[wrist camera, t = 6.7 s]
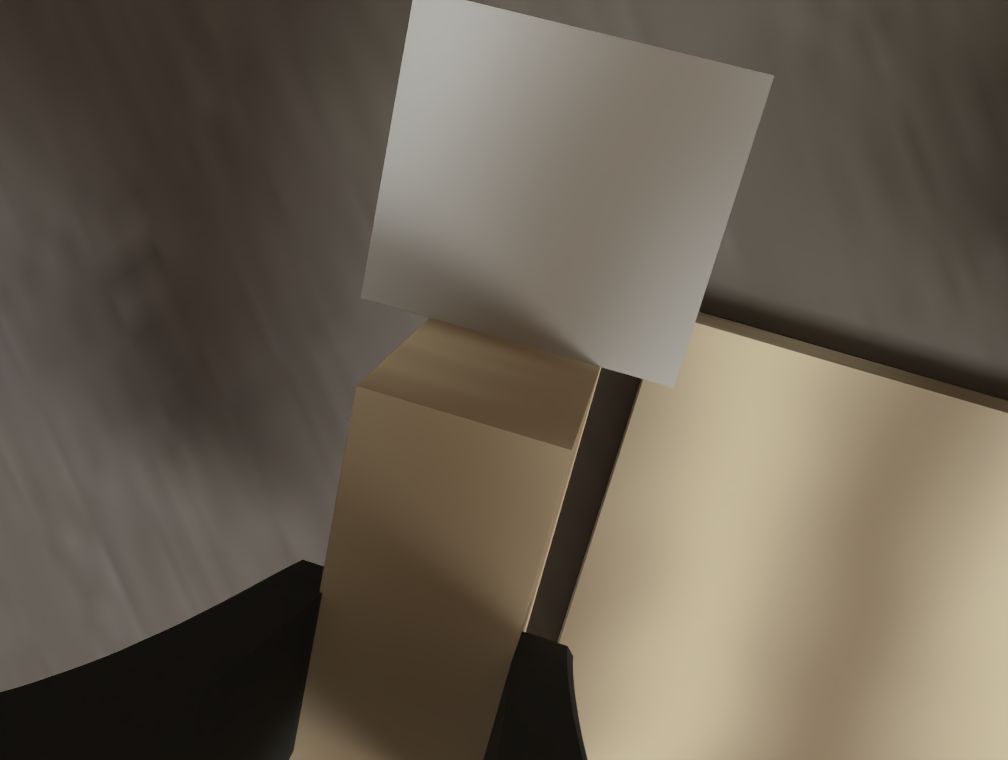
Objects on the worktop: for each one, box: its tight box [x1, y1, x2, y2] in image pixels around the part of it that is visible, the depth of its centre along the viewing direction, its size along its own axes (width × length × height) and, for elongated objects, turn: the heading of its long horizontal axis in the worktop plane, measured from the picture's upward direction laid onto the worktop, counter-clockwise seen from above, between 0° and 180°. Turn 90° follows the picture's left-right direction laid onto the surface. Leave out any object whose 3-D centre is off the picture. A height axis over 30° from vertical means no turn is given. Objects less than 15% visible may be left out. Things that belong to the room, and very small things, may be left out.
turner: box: [289, 0, 774, 760], centre depth 12 cm, size 4×14×4 cm, turn 167°
